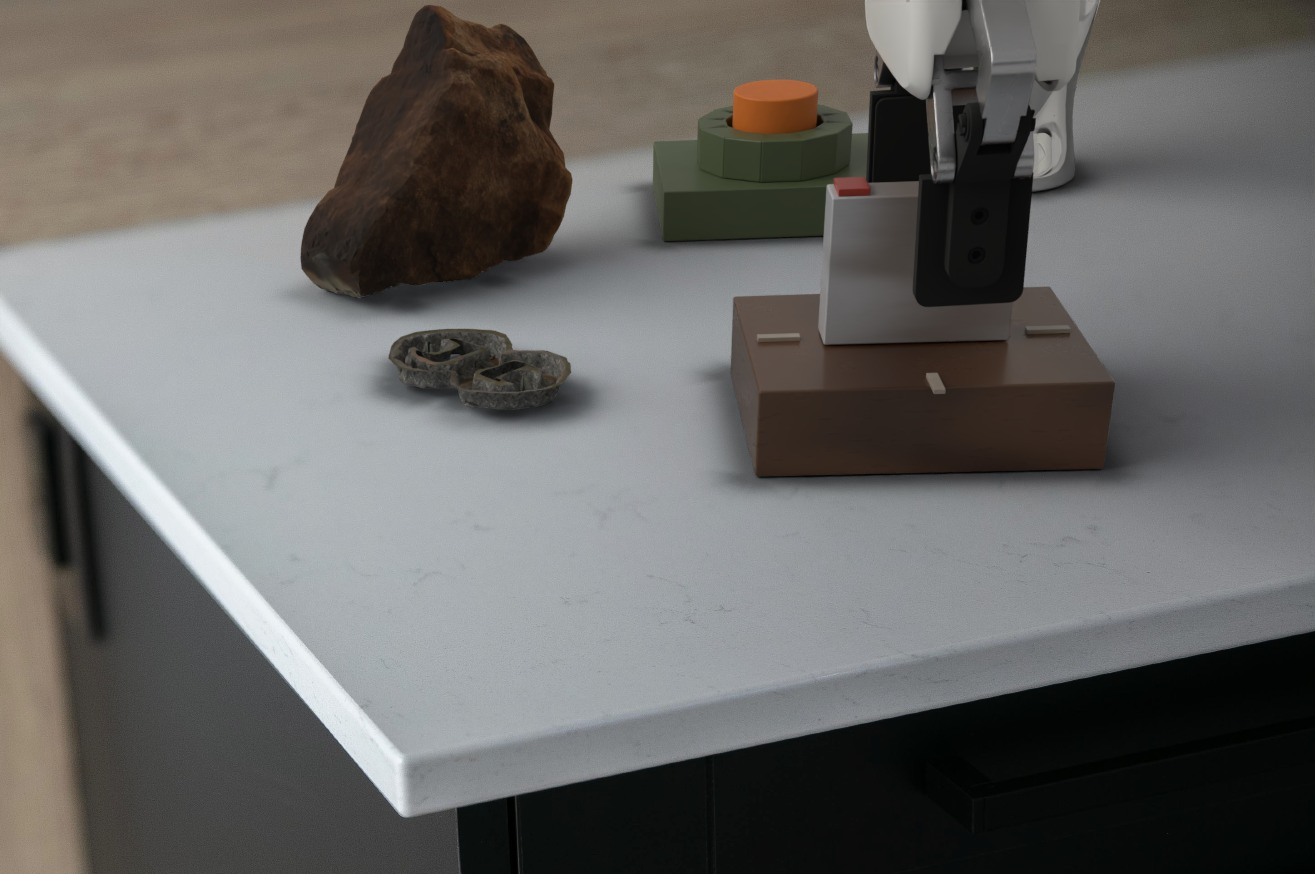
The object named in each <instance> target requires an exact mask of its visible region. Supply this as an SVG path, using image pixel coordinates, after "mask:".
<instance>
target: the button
mask: <svg viewBox="0 0 1315 874" xmlns="http://www.w3.org/2000/svg"><path fill="white" fill-rule="evenodd" d="M818 102H819V89H818V87H817V86H816V85H814V84H812V83H810V82H806V81H801V80H794V79H761V80H755V81H750V82H746V83H743V84H740V85H738V86H736V87H735V88H734V89H733V101H732V106H733V126H732V128H734V129H737V130H740V131H743V132H751V133H761V134H779V133H795V132H800V131H805V130H810V129H814V128H816V123H817V106H818V105H819V103H818Z"/></svg>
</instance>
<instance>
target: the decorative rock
mask: <svg viewBox="0 0 1315 874" xmlns="http://www.w3.org/2000/svg"><path fill="white" fill-rule="evenodd" d="M410 22H411V23H410V25H409V29H408V31H407V33H406V36H405V38H404V42H403V46H402V49H401V50H400V52H399V54H398V56H396V58H395V61H394V62H393V65H392V68H391V72H390V74H388V75H385V76H383V77H381V78H380V79H379V80H378V81H377V82H376V84H375V85H374V86H373V87H372V88H371V90H370V91H369V93H368V95H367V98H366V99H365V102H364V104H363V107H362V109H361V113H360V116H359V117H358V118H359V119H358V121H357V123H356V125H355V129H354V133H353V135H352V137H351V142H350V144H349V147H348V148H347V152H346V154H345V156H344V158H343V161H342V163H341V165H340V168H339V170H338V173H337V176H336V180H335V182H334V185H333V188H331V189H330V190H328V191H327V193H326V194H325V195H324V196H323V197H322V198H321V200H319V202H318V203H317V204H316V206H315V207H314V209H313V211H312V212H311V214H310V215H309V218H308V219H307V222H306V224H305V226H304V229H303V233H302V239H301V244H300V258H299V259H300V268H301V270H302V271H303V273H304V275H305V276H306V277H307V278H308V279H309V280H310V281H311V282H312V284H314V285H315V286H316V287H318V288H319V289H321V290H324V291H326V292H333V293H335V294H344V295H348V296H350V297H352V298H354V297H356V298H357V299H362V298H363V297H368V296H373V295H375V294H376V293H379V294H381V295H382V294H384V293H385V292H386V290H388V289H391V288H397V287H401V286H412V287H413V286H414V287H415V286H423V285H429V284H432V283H435V284H436V283H440V284H441V283H453V282H459V281H466V280H467V281H469V280H472V279H475V278H477V277H479V276H480V275H481V274H482V273H483V272H487V271H488V270H489V269H490V268H493V267H495V266H497V265H501V264H503V263H504V262H507V261H508V262H518V261H520V260H522V259H524V258H528V257H531V256H535V255H538V254H542V253H544V252H545V251H546V250H547V249H548V248H549V247H550V246H551V244H552V242H553V240H554V237H555V235H556V234H557V232H558V230H559V229H560V227H561V224H562V222H563V220H564V217H565V213H566V208H567V205H568V202H569V199H570V197H571V195H572V189H573V188H572V187H573V175H572V172H571V171H570V170H569V169H567V166H566V159H565V158H566V157H565V153H564V151H563V150H562V148H561V146H560V145H559V144H558V142H557V140H556V138H555V137H554V135H553V133H552V131H551V129H550V128H551V122H552V117H553V104H554V103H553V102H554V92H555V82H554V81H553V79H552V77H550V76H549V75H548V73H547V71H546V70H545V68H544V67H543V66H542V64H541V62H540V60H539V59H538V57H537V56H536V54H535V52H534V50H533V49H532V47H531V46H530V44H529V43H528V42H527V40H526V38H524V37H523V36H522V35H521V34H519V33H518V32H517V31H516V30H515V29H513V28H512V27H510V26H509V25H507V24H504V23H497V24H494V25H493V26H491V27H487V26H485V25H483V24H481V23H477V22H474V21H470V20H465V19H461V18H459V17H458V16H456V15H455V14H454V13H453V12H451V11H450V10H448V9H447V8H445V7H443V6H440V5H435V4H426V5H424V6H422V7H421V8H420V9H419V10H417V11H416V13H415V14H414V16H413V18H412V21H410Z"/></svg>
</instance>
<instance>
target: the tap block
mask: <svg viewBox="0 0 1315 874" xmlns="http://www.w3.org/2000/svg"><path fill="white" fill-rule="evenodd" d="M819 306H820V293H804V294H803V293H801V294H771V295H769V294H767V295H743V296H742V295H740V296H733V298H732V323H731V324H732V325H731V326H732V327H731V328H732V329H731V345H730V347H731V349H730V377H731V382H732V385H733V389H734V393H735V397H736V402H737V406H738V411H739V414H740V420H741V423H742V427H743V431H744V435H745V439H746V445H747V447H748V452H749V457H750V460H751V465H752V468H753V473H754V476H755V477H760V478H761V477H799V476H801V477H802V476H841V475H842V476H843V475H847V476H848V475H888V474H889V475H891V474H933V473H935V474H937V473H974V472H975V473H976V472H978V473H979V472H1015V471H1017V472H1019V471H1022V472H1023V471H1054V470H1055V471H1061V470H1062V471H1063V470H1064V471H1065V470H1066V471H1067V470H1068V471H1069V470H1102V469H1104V468H1105V461H1106V455H1107V448H1108V440H1109V433H1110V427H1111V426H1110V425H1111V420H1112V411H1113V404H1114V399H1115V398H1114V397H1115V390H1116V382H1115V379H1114V378H1113V377H1112V375H1111V373H1110V372H1109V371H1108V369H1107V368H1106V367H1105V365H1104V364H1103V362H1102V361H1101V359H1100V358H1099V356H1098V355H1097V353H1096V352H1095V349H1093V347H1092V346H1091V345H1090V343H1089V341H1087V339H1086V337H1085V336H1084V334H1083V333H1082V332H1081V330H1080V328H1079V327H1078V325H1077V324H1076V322H1075V321H1074V320H1073V318H1072V316H1071V315H1070V314H1069V313H1068V311H1067V310H1066V308H1065V306H1064V305H1063V304H1062V302H1061V301H1060V299H1059V298H1058V296H1057V295H1056V293H1055V291H1054V290H1053V289H1052V287H1051V286H1024V288H1023V293H1022V295H1021V296H1020V298H1019V299H1017V300H1016V301H1014V302H1013V307H1012V316H1011V325H1010V334H1009V339H1008V340H993V341H954V342H915V343H876V344H838V345H824V343H823V340H822V337H821V334H820V331H819V328H818V322H819Z"/></svg>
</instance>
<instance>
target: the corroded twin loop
mask: <svg viewBox="0 0 1315 874" xmlns="http://www.w3.org/2000/svg"><path fill="white" fill-rule="evenodd" d="M453 355H455V356H456V355H457V357H454V358H452V359H451V356H453ZM388 360H389V361H390V362H391V363H392V364H393V365H394V366H395V367H396V369H397V373H398V377H399V381H400V382H401V383H402V384H403V385H406V386H413V387H416V388H420V389H421V390H423V389H425V390H427V389H428V390H429V389H457V391H458V392H457V393H458V396H459V399H460V401H461V404H462V405H464V406H466V407H469V408H473V409H476V408H482V409H483V408H486V409H491V410H505V411H506V410H507V411H513V410H517V411H518V410H523V409H528V408H539V407H541V406H544V405H547V404H551V403H553V402H554V401H555V398H556V396H557V395H558V394H559V392H560V388H561V386H562V384H564V382H565V381H566V380H567V379H568V378H569V376H570V374H572V369H571V368H572V364H571V362H570V361H569V360H568V358H567V357H566V356H563V355H561V354H557V353H555V352H552V351H549V350H543V349H540V350H539V349H538V350H537V349H536V350H535V349H534V350H531V349H530V350H529V349H528V350H526V349H525V350H524V349H523V350H519V349H514V348H513V343H512V341H511V339H510V338H509V337H508V335H507V334H506V333H503V332H500V331H497V330H493V329H477V328H439V329H430V330H421V331H415V332H411V333H408V334H405V335H402V336H400V337H399V338H397V339H396V340H395V341H394V342H393V343H392V344H391V346H390V350H389V354H388Z"/></svg>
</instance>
